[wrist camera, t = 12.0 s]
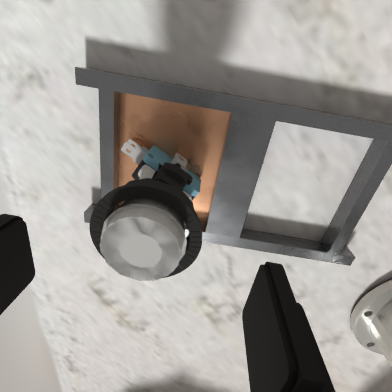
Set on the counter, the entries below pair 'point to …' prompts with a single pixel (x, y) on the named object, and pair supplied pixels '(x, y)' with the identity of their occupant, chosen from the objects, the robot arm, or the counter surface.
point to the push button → (149, 218)
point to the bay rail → (226, 155)
